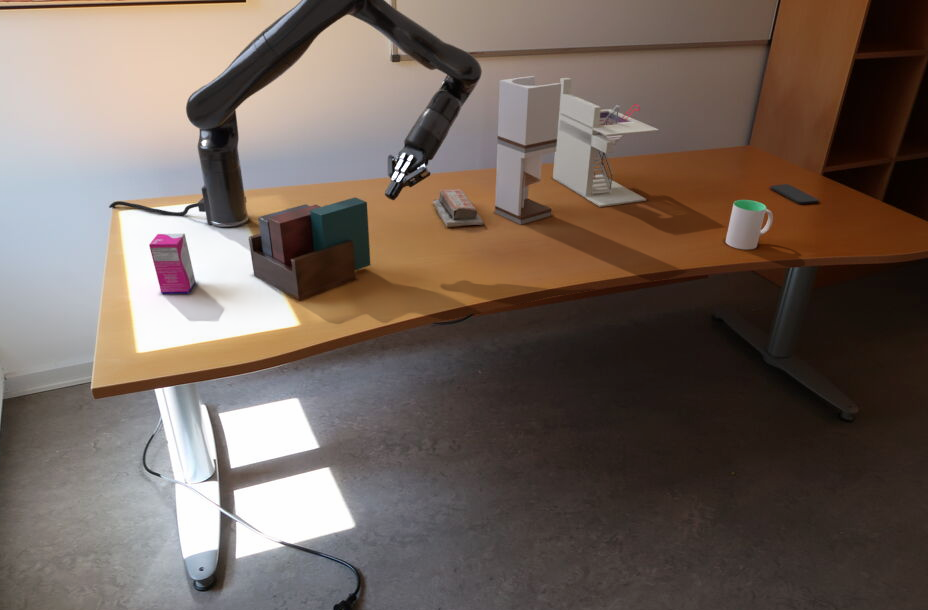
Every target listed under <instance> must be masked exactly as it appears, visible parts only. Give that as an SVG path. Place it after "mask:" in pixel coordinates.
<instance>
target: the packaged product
mask: <svg viewBox="0 0 928 610" xmlns="http://www.w3.org/2000/svg"><path fill="white" fill-rule="evenodd" d="M432 201H433V206H434V208H435V209H436V211H437V213H438V215H439V217H440V218H441V220H442V222H443V223H444V224H445V226H446V228H455V227H465V226H478V225H479V226H483V225H484V221H483V219H482V218H481V216H480V215H479V214H478V210H477V209H476V207H475V206H474V204H473V203H472V201H470V198H468V196H467V194H466V193H465V191H464V190H463V189H460V188H447V189H440V190H439V196H438V199H436V198H435V199H433V200H432Z"/></svg>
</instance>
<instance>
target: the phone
mask: <svg viewBox="0 0 928 610" xmlns="http://www.w3.org/2000/svg"><path fill="white" fill-rule="evenodd" d="M770 189H771V190H773V191H774V192H776V193H778V194H780V195H781V196H783V197H785V198H787V199H789V200H791V201H793V202H795V203H797V204H799V205H806V204H816V203H819V199H818V198H817V197H814V196H812V195H810V194H809V193H806V192H805V191H803V190H801V189H799V188H797V187H795V186H793V185H791V184H787V183H784V184H783V183H782V184H774V185H770Z"/></svg>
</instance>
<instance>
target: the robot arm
mask: <svg viewBox="0 0 928 610" xmlns="http://www.w3.org/2000/svg"><path fill="white" fill-rule="evenodd" d="M346 16H350V17H353V18H356V19H358V20H360V21H362V22H364V23H366V24H367V25H369V26H370V27H372V28H374V29H375V30H376V31H378V32H379V33H381V34H382V35H383V36H384V37H385V38H386V39H387V40H389V41H390V42H391V43H392V44H393V45H395V47H396V48H398V49H399V50H400V51H401V52H403V53H405V55H407V56H408V57H410V58H411V59H412V60H414V61H415V62H417V63H418V64H420V65H421V66H422V67H424V68H425V69H428V70H430V71H434V70H438V71H440V72H441V73H443V74H445V75H446V76H445V77H444V80H443V81H442V83H441V85H440V87H439V88H438V90H436V92H435V93H434V94H433V95H432V97H431V98H430V100H429V102H428V103H427V105H426V107H425V108H424V110H423V111H422V112H421V113H420V115H419V116H418V117H417V119H416V121H415V122H414V123H413V125H412V127H411V129H410V131H409V132H408V134H407V136H406V137H405V139H404V141H403V143H404V145H403V147H402V149H401V150H400V151H399V152H398V154H397V155H392V154H389V155H388V156H387V176H388V177H389V178H390V179H391V180H390V183H389V185H388V186H387V188H386V189H385V191H384V192H385V193H384V196H385V197H386V198H387V199H388V200H391V201H395V200H396V199H397V198H398V197H399V195H400V193H401V192H402V190H403V189H404V188H406V187H409V188H413V187H414V186H416V185H417V184H419V183H421V182H422V181H424V180H426V179H427V178H429V177H430V176H431V171H430V170H429V169H428V165H429V161H432V160H434V158H435V156H436V154H437V153H438V151H439V149H440V148H441V146H442V145H443V143H444V141H445V139H446V138H447V136H448V135H449V133H450V129H451V127H452V126H453V124H454V123H455V121H456V120H457V117H458V116H459V114H460V112H461V110H462V107H463V106H464V104H465V103H466V102H467V100H468V99H469V97H470V96H471V95H472V93H473V91H474V90H475V88H476V86H477V85H478V83H479V81H480V80H481V77H482V74H483V72H482V71H483V70H482V67H481V64H480V62H479V60H478V59H476V57H474V56H473V55H472V54H471V53H469V52H468V51H465V50H464V49H462V48H459V47H457V46H455V45H453V44H450V43H447V42H445V41H444V40H442V39H440V38H439V37H438V36H437V35H435V34H434V33H433V32H431V31H429V30H428V29H427V28H426V27H423V26H422V25H421V24H419V23H417V22H416V21H415V20H413V19H412V18H410V17H408V16H407V15H405V14H403V13H402V12H401V11H399V10H398V9H396V8H395V7H394V6H392V5H391V4H390V3H389V2H387V1H386V0H300V1H299V2H298V3H297V4H296V5H295V6H294V7H293V8H291V9H289V10H288V11H287V12H285V13H284V14H283V15H281V16H280V17H278V18H277V19H276V20H275V21H273V22H272V23H271V24H270V25H268V26H267V27H266V28H264V30H262V31H261V32H260V33H259V34H258V35H257V36H256V37H254V38H253V39H252V40H251V41H250V42H249V43H248V44H247V45H246V47H244V48H243V49H242V50H241V52H240V53H239V54H238V55H236V57H235V58H234V59H233V60H232V61H231V63H230V64H229V65H228V66H227V68H225V69H224V71H222V72H221V73H220V74H219V75H218V76H217V77H215V78H214V79H213V80H211V81H210V82H208V83H207V84H205V85H203V86H201V87H199V88H198V89H197V90H195V91H194V92H192V93H191V95H189V96H188V98H187V101H186V104H185V113H186V116H187V119H188V121H189V122H190V124H191V125H192V126H194V127H195V128H196V129H198V130H199V135H198V136H199V137H198V142H197V152H198V158H199V164H200V171H201V175H202V182H203V186H202V187H201V194H202V198H201V199H200V200H199V201H198V202H194V203H191V204H188V205H186V206H185V207H184V209H183V211H179V212H175V211H169V210H163V209H160V208H153V207H149V206H146V205H142V204H137V203H131V202H126V201H121V200H120V201H119V200H118V201H114V202H111V204H109V206H108V208H109V209H111V208H112V209H113V208H115V207H116V206H125V207H129V208H135V209H140V210H143V211H146V212H151V213H156V214H160V215H166V216H173V217H174V216H175V217H176V216H177V217H182V216H185V215H187V214H188V212H189V210H191V209H193V208H198V212H200V213H205V217H206V223H207V225H212V226H214V227H218V228H233V227H239V226H242V225H245V224H246V223H248V222H249V219H250V218H249V214H248V208H247V197H246V195H245V187H244V183H243V182H244V180H243V175H242V174H243V173H242V168H241V167H242V166H241V161H240V154H239V140H240V139H239V138H240V137H239V128H238V127H239V126H238V121H237V120H238V118H237V111H236V110H237V109H238V108H239V107H240V106H241V105H242V104H243V103H244V102H245V101H246V100H248V99H249V98H250V97H252V96H254V94H256V93H259V92H260V91H261V90H262V89H264V88H266V87H267V86H269V85H270V84H272V83H273V82H274V81H275V80H277V79H278V78H279V77H281V76H283V75H284V74H285V73H286V72H287V71H288V70H289V69H290V68H291V67H293V66H294V65H295V64H296V63H297V62H298V61H299V60H300V59H301V58H302V57H303V56H304V54H305V53H306V52H307V50H308V49H309V48H310V47H311V45H312V44H313V43H314V41H315V40H316V39H317V37H318V36H320V34H321V33H323V32H324V31H325V30H326V29H328V28H329V27H331V26H332V25H333V24H335V23H336V22H338V21H339V20H341V19H342V18H344V17H346Z"/></svg>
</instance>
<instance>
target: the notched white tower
mask: <svg viewBox="0 0 928 610" xmlns="http://www.w3.org/2000/svg"><path fill="white" fill-rule="evenodd" d="M560 97H561V83H560V82H557V83H556V82H555V83H549V84H542V85H536V76H534V75H530V76H522V77H514V78H506V79H501V80H500V79H499V90H498V116H497V118H498V119H497V122H498V123H497V148H496V171H495V172H496V173H495V175H496V176H495V177H496V179H495V200H494V201H495V202H494V213H495V214H497V215H499V216H501V217H503V218H505V219H507V220H510V221H511V222H514V223H517V224H519V225H524V224H527V223H531V222H534V221H538V220H541V219H545V218H548V217H552V211H553V210H552V208H551V207H549V206H546V205H544V204H542V203H540V202H537V201H535V200H532V199H530V198H529V186H530V185H534V184H536V183H539V182H540V181H541V178H542V177H541V176H542V163H543V161H542V160H543V155H547V154H548V155H549V154H552V153H555V152H556V148H557V135H558V122H559V110H560Z"/></svg>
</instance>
